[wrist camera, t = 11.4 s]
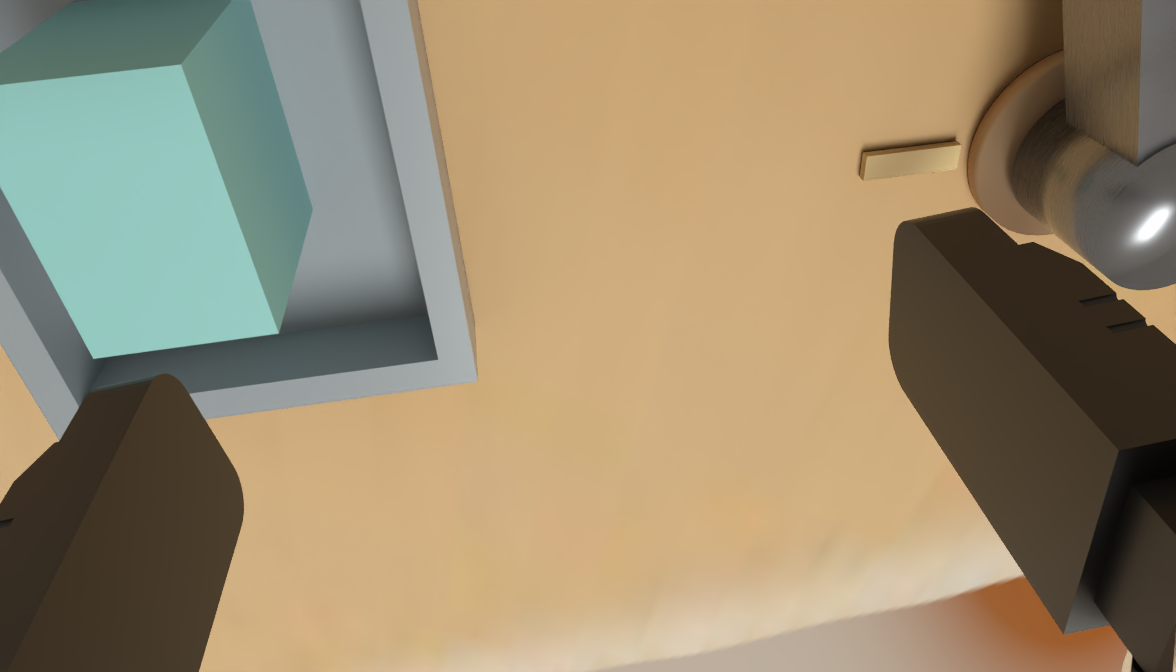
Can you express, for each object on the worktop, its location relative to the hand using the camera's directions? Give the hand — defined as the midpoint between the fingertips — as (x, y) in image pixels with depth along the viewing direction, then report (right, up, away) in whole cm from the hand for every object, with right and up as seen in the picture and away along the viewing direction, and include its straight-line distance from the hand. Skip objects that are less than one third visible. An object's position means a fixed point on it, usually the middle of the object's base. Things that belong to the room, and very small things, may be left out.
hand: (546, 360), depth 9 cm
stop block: (-9, +6, +12) cm, 16 cm away
